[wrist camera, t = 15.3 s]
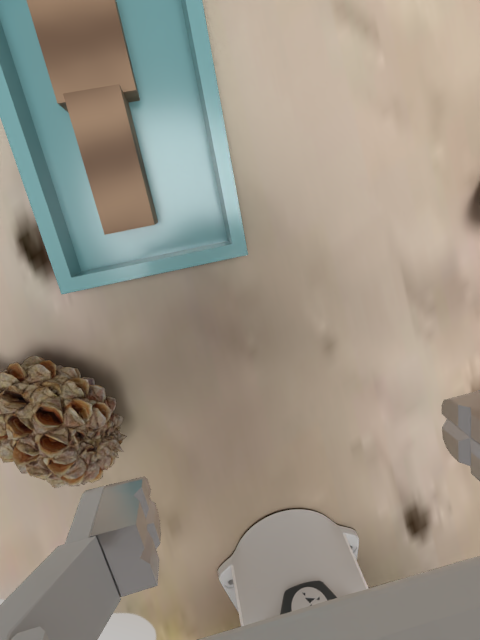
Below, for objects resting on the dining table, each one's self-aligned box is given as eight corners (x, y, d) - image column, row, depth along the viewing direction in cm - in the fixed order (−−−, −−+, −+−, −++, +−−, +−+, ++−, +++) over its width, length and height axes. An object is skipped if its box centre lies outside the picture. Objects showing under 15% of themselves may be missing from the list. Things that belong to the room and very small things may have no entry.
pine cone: (152, 388, 40) (143, 444, 31) (105, 456, 42) (82, 529, 32) (-61, 273, 34) (-154, 298, 25) (-108, 357, 35) (-212, 411, 26)
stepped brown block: (168, 220, 35) (166, 222, 30) (104, 233, 34) (91, 237, 30) (116, 1, 30) (104, -38, 25) (39, 13, 29) (11, -25, 25)
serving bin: (241, 250, 37) (247, 254, 34) (74, 285, 36) (61, 294, 32) (184, -55, 30) (185, -94, 26) (-30, -26, 28) (-62, -62, 25)
